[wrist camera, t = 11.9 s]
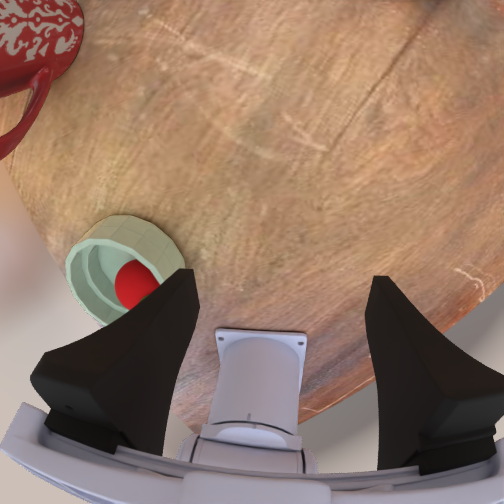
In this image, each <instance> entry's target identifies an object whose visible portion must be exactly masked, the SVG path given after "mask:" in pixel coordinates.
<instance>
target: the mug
mask: <svg viewBox="0 0 504 504" xmlns="http://www.w3.org/2000/svg"><path fill="white" fill-rule="evenodd" d="M82 36H83V15H82V12H81V9H80V7H79V5H78V3H77V2H76V1H75V0H0V99H1V98H3V97H6V96H9V95H11V94H14V93H17V92H20V91H23V90H26V89H29V88H32V89H33V95H32V98H31V101H30V103H29V105H28V107H27V110H26V112H25V114H24V116H23V118H22V119H21V121H20V122H19V123H18V124H17V126H16V127H15V128H13V129H12V130H11V131H10V132H8V133H7V134H5V135H3V136H1V137H0V160H2V159H3V158H4V157H6V156H7V155H8V154H9V153H10V152H12V151H13V150H14V149H15V148H16V146H17V145H18V144H19V143H20V142H21V140H22V139H23V138H24V136H25V135H26V133H27V132H28V130H29V129H30V127H31V126H32V124H33V122H34V121H35V119H36V117H37V115H38V113H39V111H40V109H41V107H42V105H43V103H44V101H45V99H46V97H47V94H48V92H49V89H50V86H51V83H52V81H53V80H55V79H57V78H58V77H59V76H61V75H62V74H63V73H64V72H65V71H66V70H67V69H68V67H69V66H70V65H71V63H72V62H73V60H74V58H75V56H76V54H77V52H78V50H79V47H80V44H81V41H82Z"/></svg>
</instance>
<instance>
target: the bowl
mask: <svg viewBox="0 0 504 504" xmlns="http://www.w3.org/2000/svg"><path fill="white" fill-rule="evenodd" d="M135 259H137V260H138V261H140V262H141V263H142V264H143V265H145V266H146V267H147V268H148V269H150V271H151V272H152V273H153V275H154V276H155V278H156V279H157V281H158V282H159V284H160V285H161V284H162V283H163V282H164V281H165V280H166V279H167V278H168V277H170V276H171V275H172V274H173V273H174V272H175V271H176V270H178V269H179V268H184V269H186V268H185V262H184V258H183V256H182V255H181V253H180V252H179V250H178V248H177V247H176V245H175V244H174V242H173V240H171V238H170V237H168V236H167V235H166V234H165V233H164V232H162V231H161V230H160V229H159V228H158V227H156V226H155V225H154V224H152V223H150V222H148V221H145V220H142V219H140V218H137V217H135V216H131V215H112V216H109V217H107V218H105V219H103V220H101V221H99V222H98V223H96V224H95V225H94V226H93V227H92V228H91V229H90V230H89V231H88V232H87V233H86V234H85V235H84V236H83V237H82V238H81V239H80V240H79V241H78V242H77V243H76V244H75V245H74V246H73V247H72V249H71V251H70V253H69V255H68V257H67V259H66V261H65V264H66V280H67V282H68V284H69V287H70V289H71V292H72V294H73V296H74V297H75V299H76V300H77V301H78V303H80V305H81V306H82V307H83V309H84V310H85V311H86V312H87V313H88V314H89V315H90V316H92V317H93V318H94V319H95V320H97V321H98V322H99V323H101V324H102V325H104V326H107V325H109V324H110V323H112V322H113V321H115V320H116V319H118V318H119V317H121V316H122V315H124V314H125V313H127V312H128V311H129V309H127V308H126V307H124V306H123V305H122V304H121V302H120V301H119V300H118V298H117V296H116V293H115V286H114V285H115V278H116V275H117V273H118V271H119V270H120V268H121V267H122V266H123V265H124V264H126V263H127V262H129V261H131V260H135Z"/></svg>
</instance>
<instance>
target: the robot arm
mask: <svg viewBox="0 0 504 504" xmlns="http://www.w3.org/2000/svg"><path fill="white" fill-rule="evenodd" d="M199 309H200V304H199V299H198V293H197V288H196V282H195V276H194V270H193V269H184V268H179V269H178V270H176V271H175V272H174V273H173V274H172V275H171V276H170V277H168V278H167V279H166V280H165V281H164V282H163V283H162V284H161V285H160V286H158V287H157V288H156V289H155V290H154V291H153V292H152V293H150V294H149V295H148V296H147V297H146V298H144V299H143V300H142V301H141V302H139V303H138V304H137V305H136V306H134V307H133V308H132V309H131V310H129V311H128V312H127V313H125V314H124V315H122V316H121V317H119V318H118V319H116V320H115V321H113V322H112V323H110V324H109V325H107V326H105V327H103V328H101V329H100V330H98V331H96V332H94V333H92V334H91V335H89V336H86V337H84V338H82V339H80V340H78V341H75V342H73V343H71V344H69V345H66V346H63V347H60V348H57V349H54V350H51V351H48V352H45V353H44V355H43V356H42V358H41V360H40V361H39V363H38V364H37V366H36V368H35V369H34V371H33V372H32V374H31V376H30V381H31V383H32V386H33V387H34V389H35V390H36V392H37V393H38V394H39V395H40V396H41V397H42V399H43V400H44V401H45V402H46V403H47V404H48V406H49V407H50V408H51V410H50V412H49V414H47V413H45V412H44V411H42V410H41V409H38V408H36V407H34V406H32V405H29V404H27V403H25V402H23V403H22V404H21V406H20V408H19V409H18V411H17V413H16V415H15V417H14V419H13V421H12V423H11V424H10V426H9V429H8V430H7V432H6V434H5V437H4V438H3V440H2V442H1V444H0V450H1V451H2V452H3V453H5V454H6V455H7V456H9V457H10V458H11V459H13V460H14V461H15V462H17V463H18V464H19V465H21V466H22V467H24V468H25V469H26V470H28V471H29V472H31V473H32V474H34V475H36V476H38V477H39V478H41V479H43V480H45V481H46V482H48V483H50V484H52V485H54V486H56V487H58V488H60V489H62V490H64V491H66V492H68V493H70V494H72V495H74V496H76V497H78V498H80V499H83V500H85V501H87V502H89V503H92V504H504V438H502V439H499V440H498V441H496V442H494V439H493V435H495V434H496V428H495V423H496V422H497V421H498V420H499V419H500V418H501V417H502V416H503V415H504V375H502V374H501V373H499V372H497V371H495V370H493V369H491V368H489V367H487V366H485V365H484V364H482V363H481V362H479V361H477V360H476V359H474V358H473V357H471V356H469V355H468V354H467V353H465V352H464V351H463V350H461V349H460V348H459V347H457V346H456V345H455V344H453V343H452V342H451V341H449V340H448V339H447V338H446V337H445V336H444V335H443V334H442V333H440V332H439V331H438V330H437V329H436V328H435V327H434V326H433V325H432V324H431V323H430V322H429V321H428V320H427V319H426V318H425V317H424V316H423V315H422V314H421V313H420V312H419V311H418V310H417V309H416V307H415V306H414V305H413V304H412V303H411V302H410V301H409V300H408V298H407V297H406V296H405V295H404V294H403V293H402V291H401V290H400V289H399V288H398V287H397V286H396V284H395V283H394V282H393V281H392V280H391V279H390V277H389V276H374V277H373V281H372V286H371V290H370V294H369V298H368V302H367V306H366V310H365V323H366V333H367V339H368V344H369V349H370V353H371V358H372V363H373V368H374V372H375V377H376V383H377V391H378V408H379V451H378V465H377V471H369V472H355V473H354V472H353V473H331V474H330V473H329V474H318V466H317V461H316V458H315V457H314V455H313V454H312V453H311V451H310V450H309V449H303V448H302V447H301V446H302V437H300V436H297V423H298V401H299V393H300V388H301V381H302V374H303V367H304V360H305V353H306V345H307V335H306V334H304V333H290V332H269V331H251V330H236V329H222V328H219V329H217V330H216V332H215V337H216V342H217V348H218V354H219V359H220V365H221V367H220V371H219V375H218V380H217V384H216V388H215V392H214V396H213V401H212V405H211V409H210V413H209V418H208V422H207V424H203V426H202V430H201V434H200V435H199V434H194V433H193V434H191V435H190V436H189V437H187V438H185V439H184V440H183V442H182V443H181V445H180V448H179V450H178V453H177V456H176V460H175V459H170V458H166V457H162V454H163V446H164V438H165V431H166V426H167V419H168V415H169V410H170V405H171V400H172V396H173V391H174V387H175V383H176V379H177V376H178V373H179V370H180V367H181V364H182V362H183V359H184V356H185V354H186V351H187V348H188V346H189V343H190V340H191V338H192V335H193V332H194V330H195V326H196V322H197V318H198V314H199ZM222 337H223V338H222Z"/></svg>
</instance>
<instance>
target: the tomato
mask: <svg viewBox="0 0 504 504" xmlns="http://www.w3.org/2000/svg"><path fill="white" fill-rule="evenodd" d="M114 286H115V293H116V296H117V298H118V300H119V301H120V302H121V304H122V305H123V306H124V307H126V308H127V309H129V310H131V309H132V308H133V307H134V306H136V305H137V304H138V303H139V302H141V301H142V300H143V299H144V298H146V297H147V296H148V295H149V294H150V293H152V292H153V291H154V290H155V289H156V288H157V287H158V286H160V284H159V282H158V281H157V279H156V278H155V276H154V275H153V273H152V272H151V271H150V269H148V268H147V267H146V266H145V265H143V264H142V263H141V262H140V261H138V260H137V259H135V260H131V261H129V262H127V263H126V264H124V265H123V266H122V267H121V268H120V270H119V271H118V273H117V275H116V278H115V285H114Z"/></svg>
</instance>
